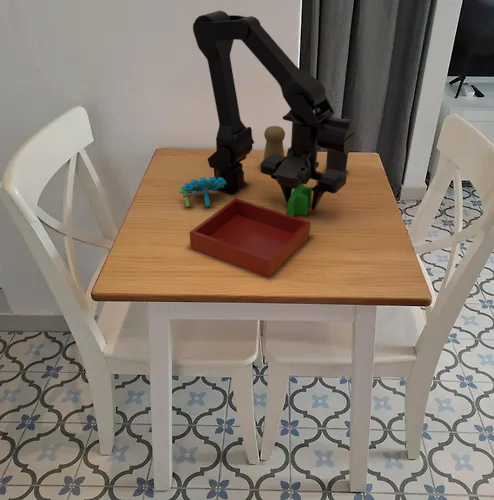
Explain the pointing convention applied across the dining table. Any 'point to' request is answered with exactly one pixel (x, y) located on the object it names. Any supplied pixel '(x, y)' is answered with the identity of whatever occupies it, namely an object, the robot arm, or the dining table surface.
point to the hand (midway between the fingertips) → (300, 206)
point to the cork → (274, 141)
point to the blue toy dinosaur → (201, 188)
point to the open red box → (250, 236)
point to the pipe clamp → (299, 200)
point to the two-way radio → (336, 160)
